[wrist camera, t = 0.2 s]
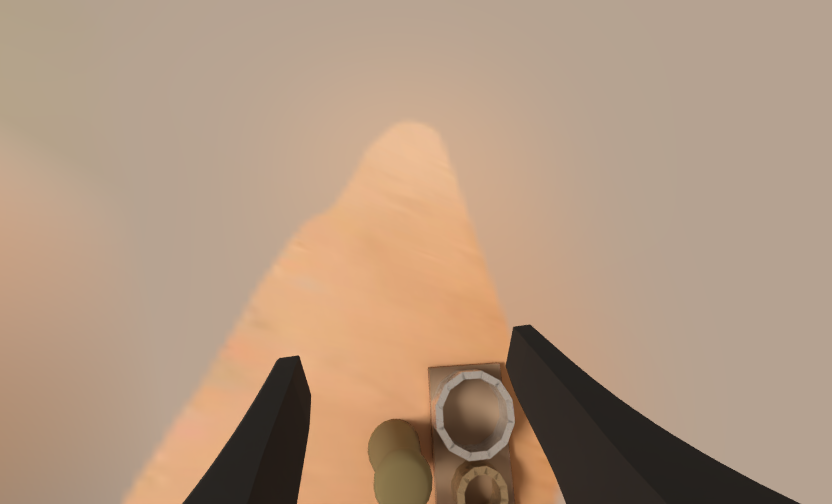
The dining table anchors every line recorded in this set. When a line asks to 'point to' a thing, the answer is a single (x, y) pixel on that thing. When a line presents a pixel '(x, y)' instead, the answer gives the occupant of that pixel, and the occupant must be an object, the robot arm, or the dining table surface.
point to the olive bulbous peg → (399, 464)
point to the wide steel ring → (502, 427)
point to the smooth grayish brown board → (467, 432)
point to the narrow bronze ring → (475, 468)
